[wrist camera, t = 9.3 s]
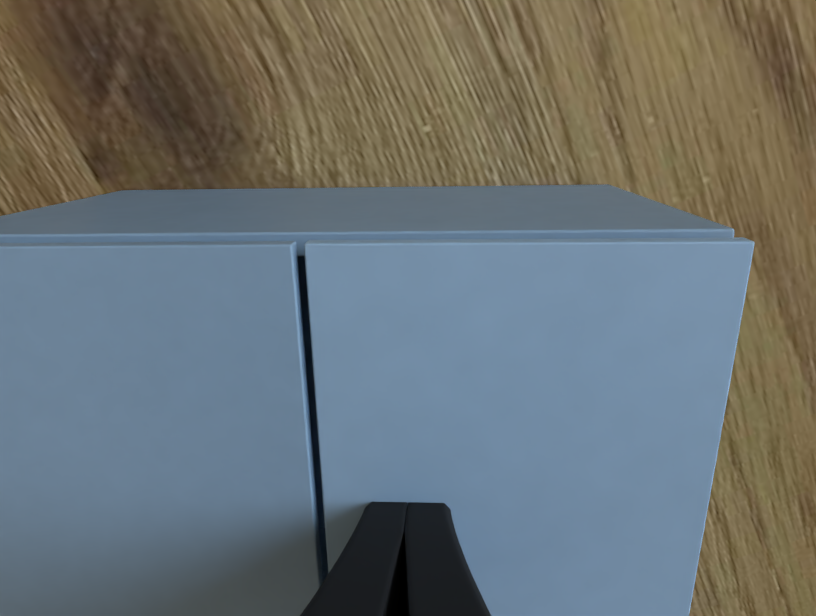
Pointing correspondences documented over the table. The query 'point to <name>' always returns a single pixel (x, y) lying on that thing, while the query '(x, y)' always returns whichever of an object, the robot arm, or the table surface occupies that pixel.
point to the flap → (532, 405)
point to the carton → (203, 382)
